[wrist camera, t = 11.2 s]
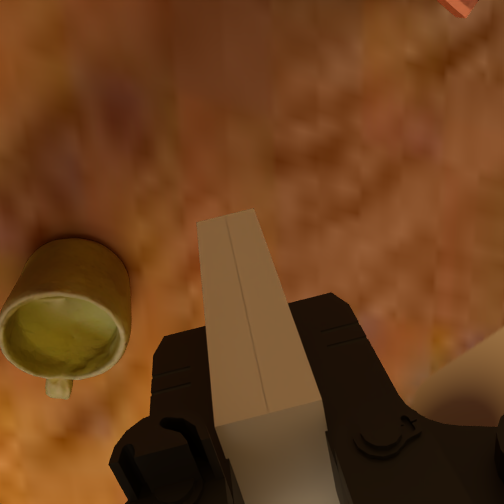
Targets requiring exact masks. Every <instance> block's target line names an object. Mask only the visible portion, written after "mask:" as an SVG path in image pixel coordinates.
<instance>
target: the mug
mask: <svg viewBox="0 0 504 504" xmlns="http://www.w3.org/2000/svg"><path fill="white" fill-rule="evenodd" d="M130 332H131V297H130V281H129V276H128V273H127V271H126V268H125V266H124V264H123V263H122V262H121V260H120V259H119V258H118V257H117V256H116V255H115V254H114V253H113V252H112V251H111V250H109V249H108V248H106V247H105V246H104V245H102V244H100V243H97V242H95V241H92V240H86V239H82V238H69V239H59V240H54V241H51V242H49V243H47V244H45V245H43V246H41V247H40V248H39V249H37V250H36V251H35V252H34V253H33V254H32V255H31V257H30V258H29V259H28V261H27V262H26V264H25V266H24V268H23V271H22V274H21V276H20V278H19V280H18V282H17V283H16V285H15V287H14V288H13V290H12V292H11V293H10V295H9V297H8V299H7V300H6V302H5V304H4V306H3V308H2V310H1V313H0V348H1V350H2V352H3V354H4V356H5V357H6V358H7V359H8V360H9V361H10V362H11V363H12V364H13V365H14V366H16V367H17V368H19V369H20V370H22V371H24V372H26V373H28V374H31V375H33V376H37V377H42V378H46V386H45V388H46V394H47V395H48V396H49V397H51V398H61V399H69V397H70V394H71V391H72V386H73V380H81V379H85V378H89V377H94V376H97V375H99V374H102V373H104V372H106V371H107V370H109V369H110V368H112V367H113V366H114V365H115V364H116V363H117V362H118V361H119V360H120V358H121V357H122V356H123V354H124V352H125V350H126V347H127V345H128V342H129V338H130Z"/></svg>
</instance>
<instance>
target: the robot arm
mask: <svg viewBox="0 0 504 504" xmlns="http://www.w3.org/2000/svg"><path fill="white" fill-rule="evenodd" d="M196 224H197V235H198V246H199V257H200V268H201V280H202V291H203V302H204V313H205V325H206V326H203V327H199V328H195V329H191V330H187V331H183V332H179V333H175V334H171V335H167V336H164V338H163V339H162V341H161V343H160V345H159V346H158V348H157V350H156V352H155V353H154V355H153V368H152V377H153V379H152V384H151V394H152V396H151V401H150V416H148V417H146V418H143V419H142V420H140V421H139V422H138V423H136V424H135V425H134V426H132V427H131V428H130V429H128V430H127V431H126V432H125V434H124V435H123V436H122V438H121V439H120V440H119V441H118V443H117V444H116V445H115V447H114V450H113V453H112V455H111V458H110V461H109V466H110V468H111V470H112V472H113V473H114V475H115V477H116V479H117V481H118V482H119V484H120V486H121V488H122V490H123V491H124V493H125V495H126V497H127V499H128V501H127V502H126V503H125V504H504V415H503V416H502V417H501V418H500V421H499V424H498V427H482V426H457V425H448V424H442V423H439V422H436V421H433V420H429V419H427V418H425V417H423V416H421V415H420V414H418V413H417V412H416V411H415V410H413V409H411V408H410V407H409V406H407V405H406V404H405V403H404V401H403V400H402V399H401V397H400V396H399V395H398V393H397V391H396V389H395V388H394V386H393V384H392V382H391V380H390V378H389V377H388V375H387V373H386V371H385V369H384V367H383V366H382V364H381V362H380V360H379V358H378V357H377V355H376V353H375V351H374V349H373V347H372V346H371V344H370V342H369V340H368V339H367V338H366V335H365V333H364V331H363V329H362V327H361V326H360V325H359V323H358V320H357V318H356V316H355V315H354V313H353V311H352V309H351V307H350V306H349V304H348V303H346V302H345V301H343V300H342V299H340V298H339V297H337V296H336V295H334V294H333V293H327V294H323V295H319V296H315V297H311V298H307V299H303V300H299V301H295V302H292V303H287V300H286V297H285V294H284V292H283V289H282V286H281V283H280V280H279V278H278V275H277V272H276V269H275V266H274V264H273V261H272V258H271V255H270V252H269V249H268V247H267V244H266V241H265V238H264V235H263V233H262V230H261V227H260V224H259V221H258V219H257V216H256V213H255V210H254V208H252V209H248V210H244V211H240V212H236V213H232V214H228V215H224V216H220V217H216V218H212V219H208V220H204V221H200V222H196Z"/></svg>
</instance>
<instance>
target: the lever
mask: <svg viewBox="0 0 504 504" xmlns="http://www.w3.org/2000/svg"><path fill="white" fill-rule="evenodd" d="M437 1H438V2H439V3H440V4H441V5H443V6H444V7H445V8H446V9H447V10H448V11H449V12H451V13H452V14H453V15H454V16H455V17H460V18H466V17H467V16H468V14H469V13H470V12H471V10H472V9H473V8H474V6H475V5H476V3H477V2H478V1H479V0H437Z"/></svg>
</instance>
